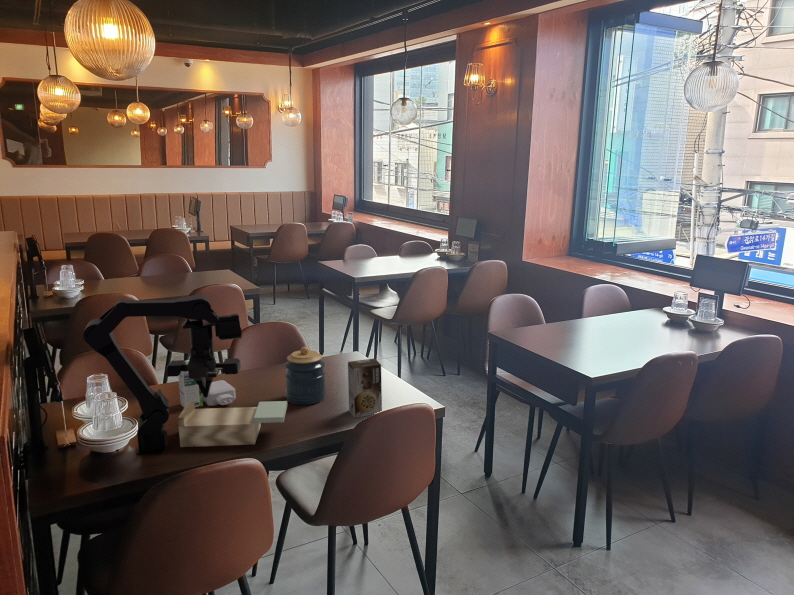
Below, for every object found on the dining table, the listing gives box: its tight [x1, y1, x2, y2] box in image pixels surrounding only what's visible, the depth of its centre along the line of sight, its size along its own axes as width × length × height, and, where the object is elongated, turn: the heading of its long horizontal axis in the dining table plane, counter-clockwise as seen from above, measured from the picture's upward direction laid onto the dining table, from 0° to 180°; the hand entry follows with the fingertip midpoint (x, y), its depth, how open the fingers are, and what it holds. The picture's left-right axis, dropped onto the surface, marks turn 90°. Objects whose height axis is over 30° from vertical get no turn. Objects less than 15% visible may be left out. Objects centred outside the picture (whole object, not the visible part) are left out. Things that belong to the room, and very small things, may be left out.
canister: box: [284, 346, 327, 406], centre depth 200 cm, size 13×13×18 cm
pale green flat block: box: [254, 400, 288, 424], centre depth 173 cm, size 2×12×8 cm
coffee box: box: [347, 358, 383, 418], centre depth 189 cm, size 9×6×16 cm
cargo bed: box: [177, 401, 262, 448], centre depth 172 cm, size 20×12×8 cm, turn 95°
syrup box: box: [177, 359, 204, 409], centre depth 194 cm, size 6×6×14 cm
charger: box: [202, 379, 237, 407], centre depth 198 cm, size 5×9×15 cm
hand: (206, 397), depth 167 cm, fingers closed
